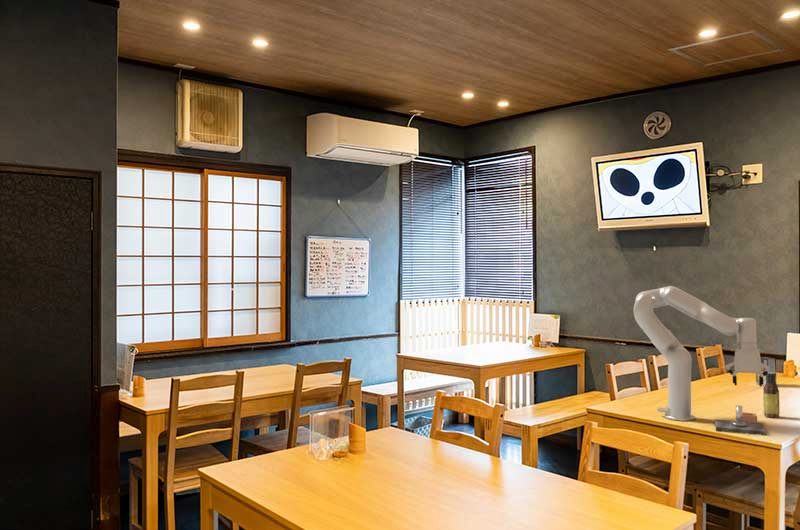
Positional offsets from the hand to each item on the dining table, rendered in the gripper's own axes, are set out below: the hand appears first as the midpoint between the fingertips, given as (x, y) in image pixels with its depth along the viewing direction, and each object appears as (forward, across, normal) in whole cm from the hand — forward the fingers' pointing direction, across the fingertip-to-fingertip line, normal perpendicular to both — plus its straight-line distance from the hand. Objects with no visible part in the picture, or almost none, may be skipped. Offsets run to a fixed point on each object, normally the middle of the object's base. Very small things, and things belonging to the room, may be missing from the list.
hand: (748, 385), depth 285 cm
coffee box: (+17, +17, +112) cm, 114 cm away
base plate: (+16, -5, -15) cm, 22 cm away
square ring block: (+16, -1, 0) cm, 16 cm away
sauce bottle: (+16, +10, +17) cm, 26 cm away
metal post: (+14, -5, -15) cm, 21 cm away
